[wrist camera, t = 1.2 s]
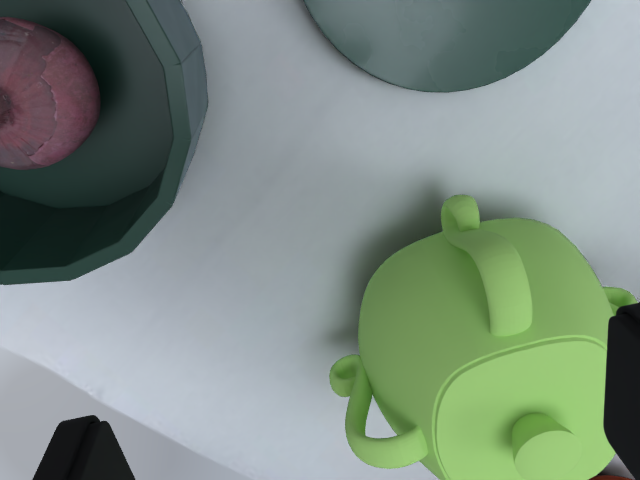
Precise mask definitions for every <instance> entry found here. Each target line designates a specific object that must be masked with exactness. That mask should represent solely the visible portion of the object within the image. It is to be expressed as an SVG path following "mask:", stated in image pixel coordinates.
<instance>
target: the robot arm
mask: <svg viewBox="0 0 640 480" xmlns="http://www.w3.org/2000/svg"><path fill="white" fill-rule="evenodd" d="M603 427H604V432H605V435H606V438H607V440H608V442H609V444H610V445H611V447H612V448H613V449H614V451H615V452H616V454H617V455H618V456H619V458H620V459H621V460H622V462H623V463H624V464H625V466H626V467H627V469H628V470H629V471H630V473H631V474H632V475H633V477H634V478H635V480H640V303H635V304H630V305H625V306H621V307H619V308H618V309H617V311H616V316H612V317H610V319H609V322H608V338H607V358H606V378H605V398H604V418H603ZM33 480H135V478H134V475H133V473H132V471H131V469H130V467H129V465H128V463H127V461H126V459H125V456H124V454H123V452H122V450H121V448H120V446H119V444H118V441H117V439H116V438H115V435H114V433H113V431H112V429H111V426H110V425H109V423H108V422H107V421H101V422H100V420H99V419H98V418H97V417H96V416H94V415H90V416H85V417H81V418H76V419H71V420H66V421H62V422H61V423H59V425H58V426H57V428H56V430H55V432H54V435H53V437H52V439H51V441H50V443H49V445H48V447H47V450H46V452H45V454H44V456H43V458H42V460H41V462H40V465H39V467H38V469H37V471H36V473H35V475H34V478H33Z"/></svg>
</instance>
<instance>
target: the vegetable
mask: <svg viewBox="0 0 640 480" xmlns="http://www.w3.org/2000/svg"><path fill="white" fill-rule="evenodd" d="M100 106H101V100H100V91H99V86H98V82H97V79H96V77H95V74H94V72H93V69H92V67H91V66H90V64H89V62H88V61H87V59H86V57H85V56H84V54H83V53H82V52H81V51H80V50H79V49H78V48H77V47H76V46H75V45H74V44H73V43H72V42H71V41H70V40H68V39H67V38H66V37H64V36H62V35H61V34H59V33H58V32H56V31H53V30H51V29H49V28H47V27H45V26H42V25H40V24H37V23H34V22H31V21H27V20H24V19H19V18H13V17H0V166H1V167H5V168H11V169H17V170H29V169H37V168H42V167H46V166H50V165H52V164H54V163H56V162H59V161H61V160H62V159H64V158H66V157H67V156H69V155H70V154H71V153H73V152H74V151H75V150H76V149H78V148H79V147H80V146H81V145H82V144H83V143H84V141H85V140H86V139H87V138H88V137H89V136H90V134H91V133H92V131H93V129H94V127H95V125H96V123H97V121H98V118H99V113H100Z"/></svg>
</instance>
